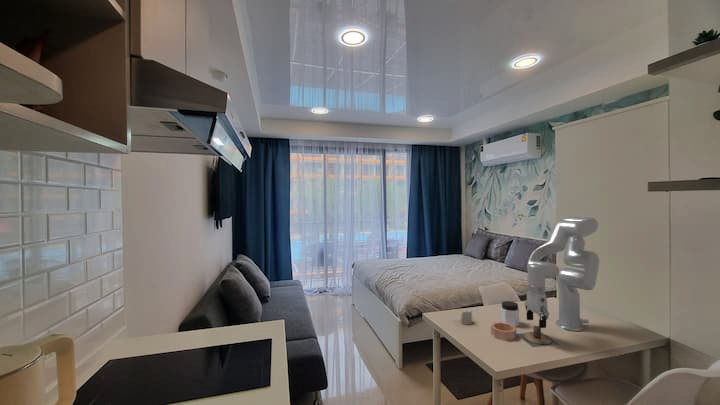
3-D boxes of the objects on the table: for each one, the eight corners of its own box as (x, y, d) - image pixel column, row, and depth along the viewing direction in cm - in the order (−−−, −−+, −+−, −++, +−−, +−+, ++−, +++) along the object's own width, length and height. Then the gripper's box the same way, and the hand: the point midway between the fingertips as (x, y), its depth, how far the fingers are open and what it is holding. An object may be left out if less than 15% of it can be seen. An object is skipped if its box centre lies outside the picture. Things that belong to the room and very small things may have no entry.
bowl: (508, 331, 164) (507, 321, 163) (520, 340, 153) (520, 330, 152) (487, 332, 163) (487, 323, 163) (498, 342, 152) (498, 332, 152)
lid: (540, 333, 159) (540, 321, 159) (557, 344, 147) (557, 331, 147) (518, 334, 158) (518, 322, 158) (533, 345, 146) (533, 333, 146)
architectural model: (459, 322, 177) (459, 310, 177) (471, 322, 178) (471, 309, 177) (462, 325, 174) (461, 312, 174) (473, 324, 174) (473, 311, 174)
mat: (541, 333, 160) (541, 332, 160) (560, 346, 146) (560, 345, 146) (515, 334, 159) (515, 333, 159) (532, 348, 145) (532, 346, 145)
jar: (512, 329, 165) (512, 307, 165) (498, 324, 172) (498, 303, 172) (521, 325, 170) (521, 303, 170) (507, 320, 177) (507, 299, 177)
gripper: (555, 294, 144) (555, 330, 144) (532, 284, 161) (532, 317, 161) (540, 294, 143) (540, 331, 143) (518, 284, 160) (518, 317, 160)
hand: (536, 323), depth 152 cm, fingers open, 9 cm apart
